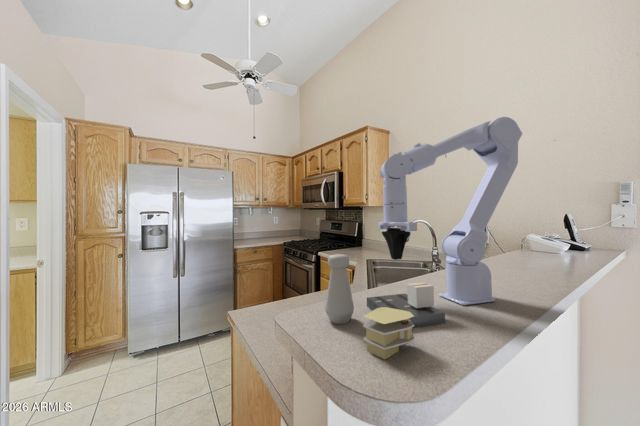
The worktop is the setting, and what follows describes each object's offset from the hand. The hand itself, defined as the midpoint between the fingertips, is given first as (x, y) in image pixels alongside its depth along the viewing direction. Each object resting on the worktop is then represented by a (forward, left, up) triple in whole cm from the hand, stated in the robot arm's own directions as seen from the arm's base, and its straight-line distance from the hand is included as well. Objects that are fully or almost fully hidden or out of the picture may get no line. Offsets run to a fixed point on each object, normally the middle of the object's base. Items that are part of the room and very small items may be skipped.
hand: (396, 259), depth 62 cm
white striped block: (+2, +11, -8) cm, 13 cm away
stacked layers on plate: (+14, +21, -10) cm, 27 cm away
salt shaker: (+18, +8, -10) cm, 22 cm away
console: (+5, +9, -10) cm, 14 cm away
